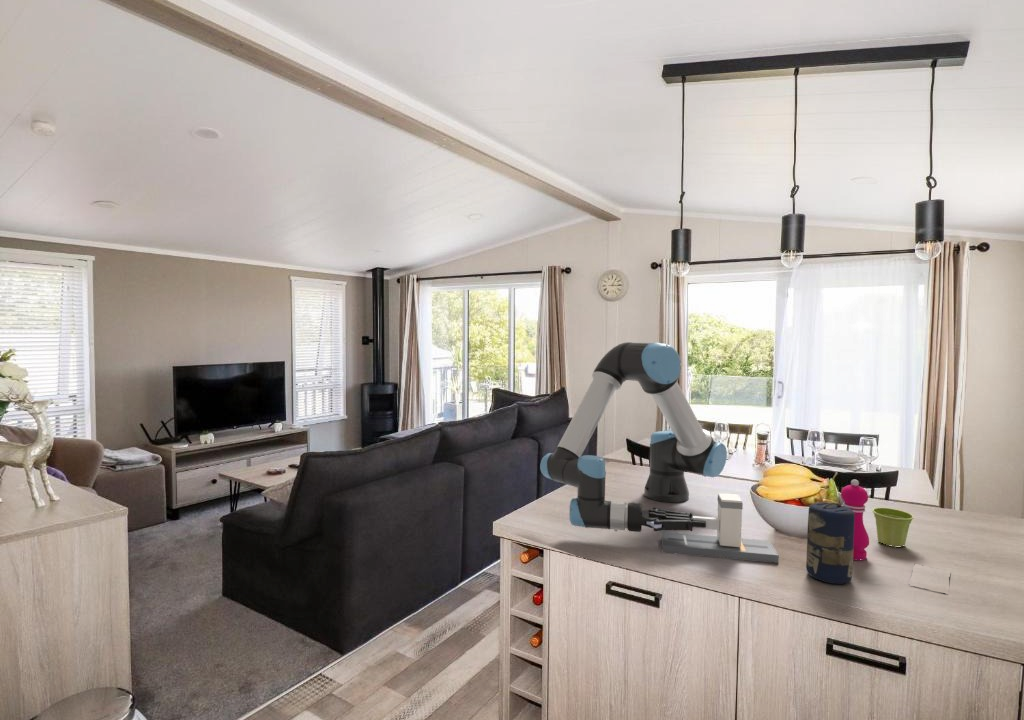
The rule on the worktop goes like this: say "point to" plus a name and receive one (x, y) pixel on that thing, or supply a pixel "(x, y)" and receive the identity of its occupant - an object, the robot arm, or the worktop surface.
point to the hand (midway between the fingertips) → (718, 523)
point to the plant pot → (892, 525)
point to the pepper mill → (857, 516)
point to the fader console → (718, 547)
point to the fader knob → (729, 519)
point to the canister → (830, 542)
